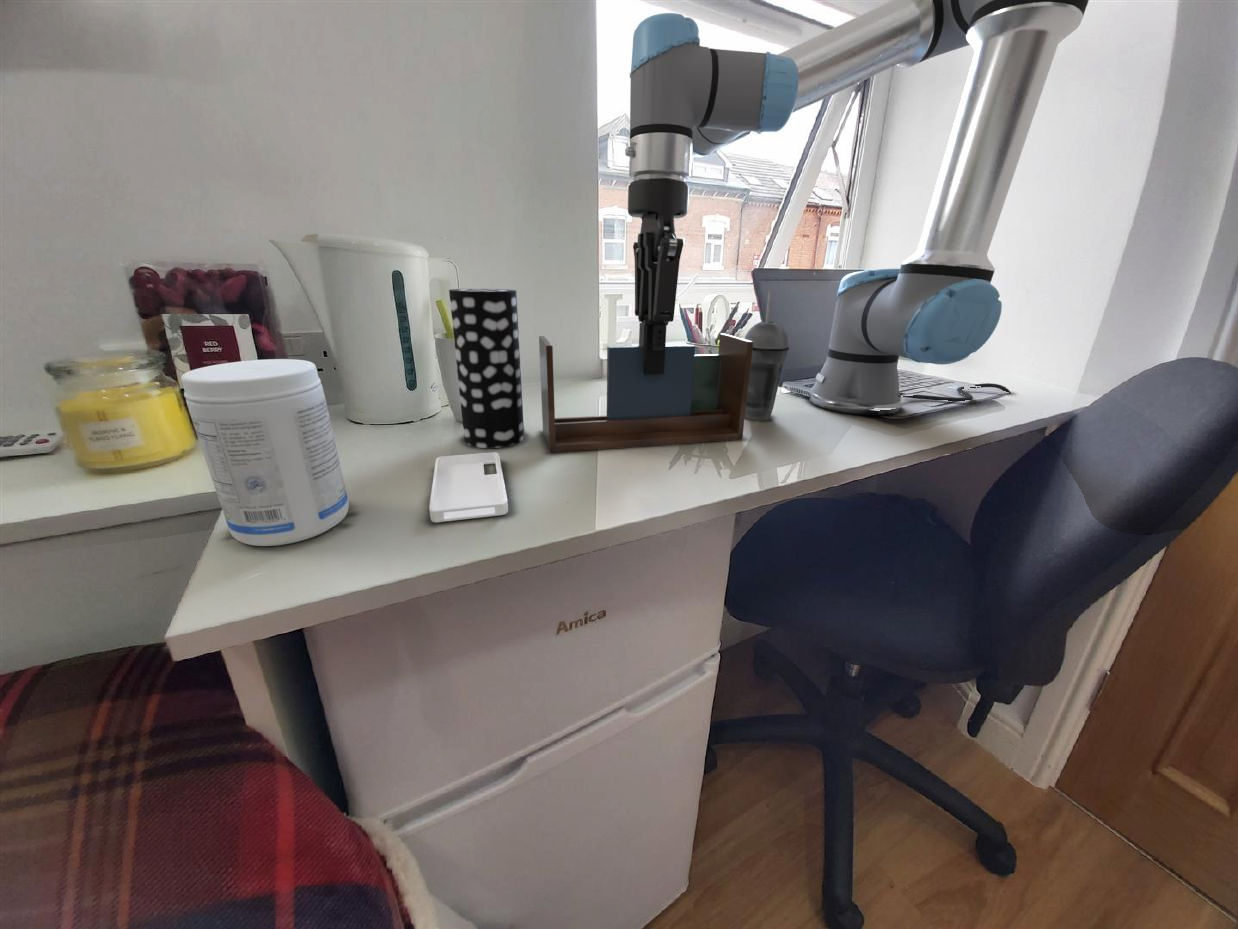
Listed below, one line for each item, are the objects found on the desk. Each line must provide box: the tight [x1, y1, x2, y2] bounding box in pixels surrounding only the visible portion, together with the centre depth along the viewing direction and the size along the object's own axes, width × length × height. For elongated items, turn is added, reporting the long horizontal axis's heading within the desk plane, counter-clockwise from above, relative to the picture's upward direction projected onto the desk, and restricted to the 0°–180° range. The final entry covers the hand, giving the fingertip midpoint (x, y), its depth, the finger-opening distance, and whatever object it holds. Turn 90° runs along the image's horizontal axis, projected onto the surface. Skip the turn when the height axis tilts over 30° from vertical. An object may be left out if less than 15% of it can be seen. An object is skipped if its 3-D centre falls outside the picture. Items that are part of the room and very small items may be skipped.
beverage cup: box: [744, 290, 790, 422], centre depth 80 cm, size 7×7×20 cm
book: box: [606, 322, 696, 420], centre depth 70 cm, size 12×2×15 cm, turn 104°
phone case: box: [428, 452, 509, 523], centre depth 54 cm, size 7×1×15 cm
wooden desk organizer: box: [538, 333, 753, 454], centre depth 70 cm, size 28×9×14 cm, turn 104°
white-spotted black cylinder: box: [448, 288, 525, 449], centre depth 67 cm, size 8×8×20 cm
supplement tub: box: [180, 358, 350, 547], centre depth 44 cm, size 10×10×15 cm
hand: (650, 371), depth 70 cm, fingers closed on book, 2 cm apart
